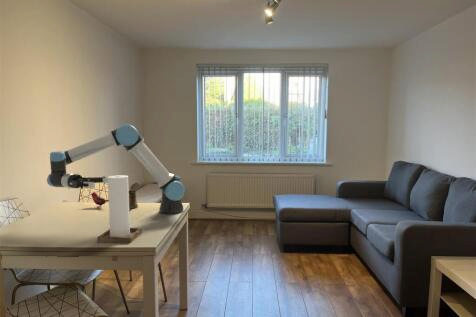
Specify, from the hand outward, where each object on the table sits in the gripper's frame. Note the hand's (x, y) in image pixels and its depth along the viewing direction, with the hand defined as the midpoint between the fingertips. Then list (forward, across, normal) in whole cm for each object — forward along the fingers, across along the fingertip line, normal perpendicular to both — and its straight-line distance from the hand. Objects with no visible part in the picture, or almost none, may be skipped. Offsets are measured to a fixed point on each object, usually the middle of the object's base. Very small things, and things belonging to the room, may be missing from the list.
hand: (103, 182), depth 189 cm
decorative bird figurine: (-41, -42, -26) cm, 64 cm away
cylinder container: (+13, +5, -25) cm, 29 cm away
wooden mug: (-21, -48, -26) cm, 59 cm away
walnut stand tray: (+13, +5, -26) cm, 30 cm away
